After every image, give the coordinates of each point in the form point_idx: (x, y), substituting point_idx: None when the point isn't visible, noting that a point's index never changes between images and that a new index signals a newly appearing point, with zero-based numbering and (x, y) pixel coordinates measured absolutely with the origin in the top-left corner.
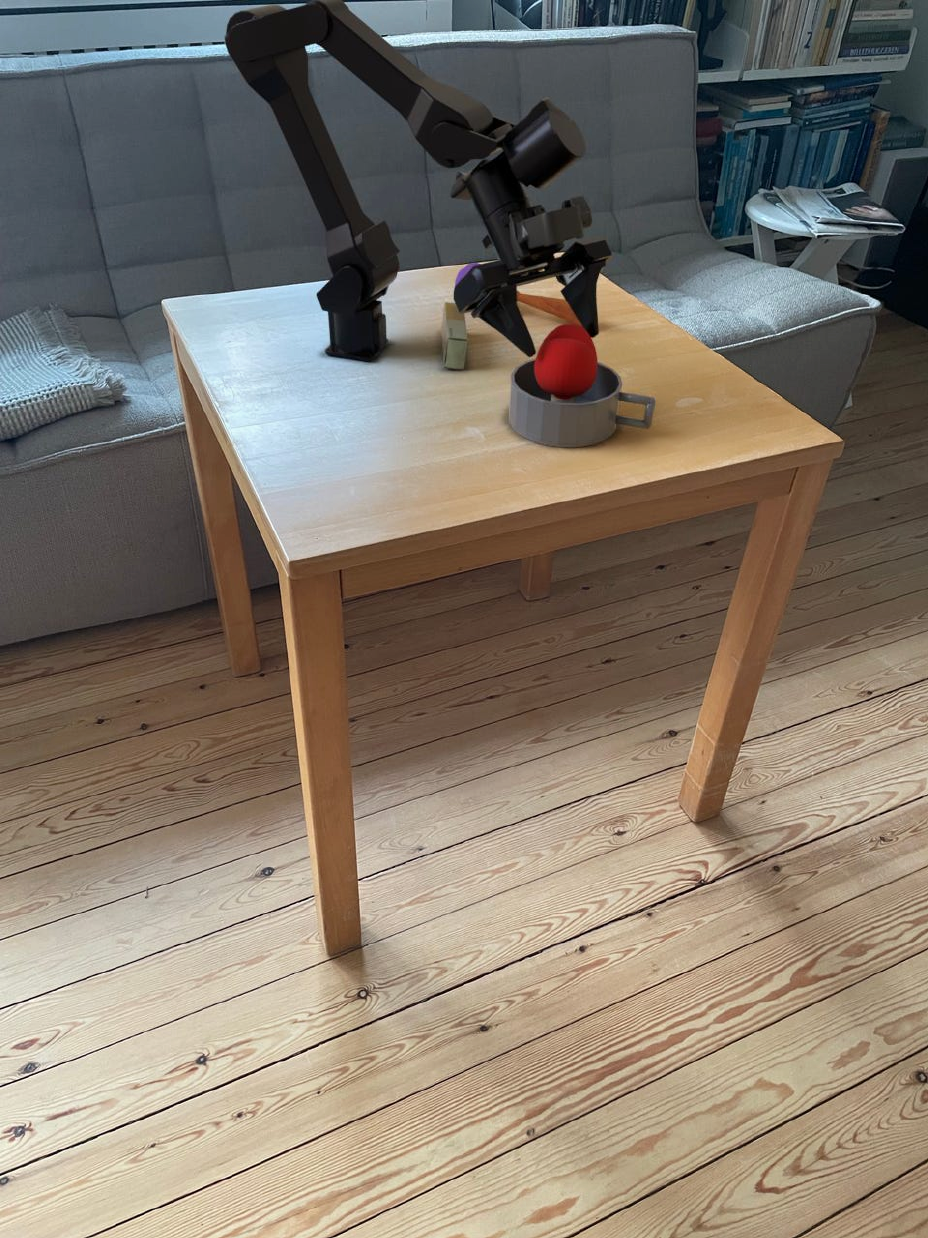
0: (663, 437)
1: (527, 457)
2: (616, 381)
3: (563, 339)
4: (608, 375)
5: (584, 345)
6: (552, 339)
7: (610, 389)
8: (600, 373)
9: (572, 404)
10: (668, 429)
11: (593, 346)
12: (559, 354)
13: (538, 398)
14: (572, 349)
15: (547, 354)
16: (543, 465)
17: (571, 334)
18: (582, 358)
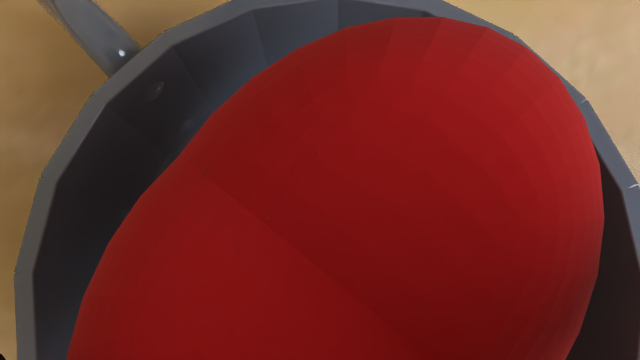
0: None
1: (606, 98)
2: (73, 179)
3: (473, 171)
4: (51, 280)
5: (303, 81)
6: (509, 303)
7: (86, 244)
8: (60, 345)
9: (465, 12)
10: (4, 50)
11: (146, 202)
12: (552, 83)
13: (601, 139)
14: (455, 38)
15: (598, 188)
16: (576, 27)
17: (291, 308)
18: (372, 22)
